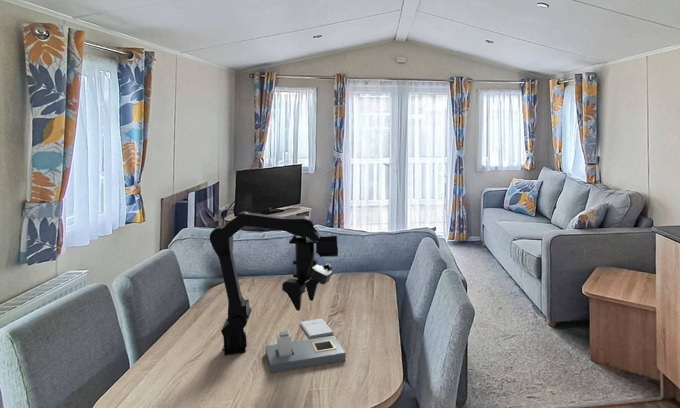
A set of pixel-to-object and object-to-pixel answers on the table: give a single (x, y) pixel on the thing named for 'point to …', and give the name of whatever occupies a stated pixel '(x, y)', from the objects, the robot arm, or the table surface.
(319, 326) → the external hard drive
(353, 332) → the table surface
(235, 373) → the table surface
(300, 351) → the panel
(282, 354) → the plug
